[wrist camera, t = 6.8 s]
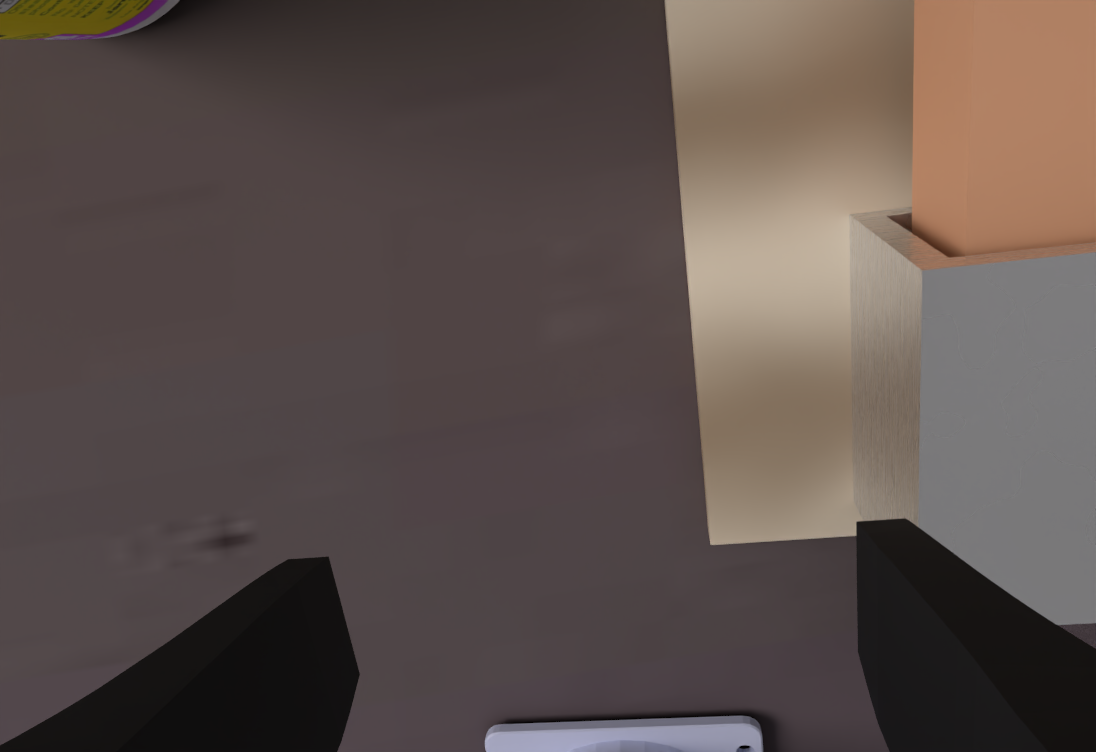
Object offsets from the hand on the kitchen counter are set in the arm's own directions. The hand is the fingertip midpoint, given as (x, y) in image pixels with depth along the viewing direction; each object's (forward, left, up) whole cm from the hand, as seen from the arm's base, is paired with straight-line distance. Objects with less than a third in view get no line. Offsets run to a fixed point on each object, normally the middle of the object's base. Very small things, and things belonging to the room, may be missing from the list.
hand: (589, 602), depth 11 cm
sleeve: (0, -8, -9) cm, 12 cm away
